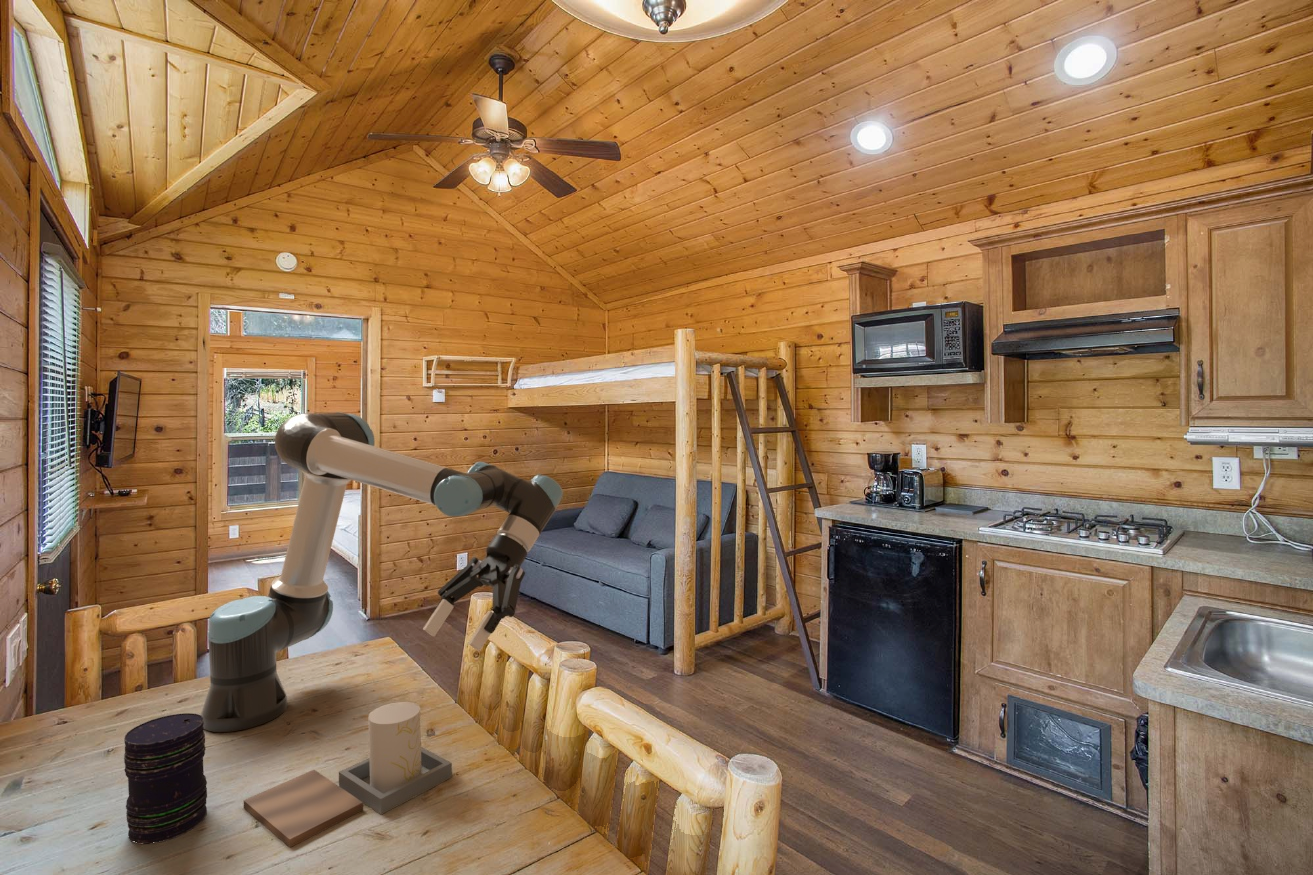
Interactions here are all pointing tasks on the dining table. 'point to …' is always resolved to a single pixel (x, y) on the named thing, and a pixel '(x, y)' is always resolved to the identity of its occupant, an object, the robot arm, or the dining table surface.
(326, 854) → the dining table surface
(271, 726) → the dining table surface
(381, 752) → the cup
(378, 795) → the square collar
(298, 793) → the walnut board
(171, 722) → the dark purple cylinder
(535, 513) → the robot arm
